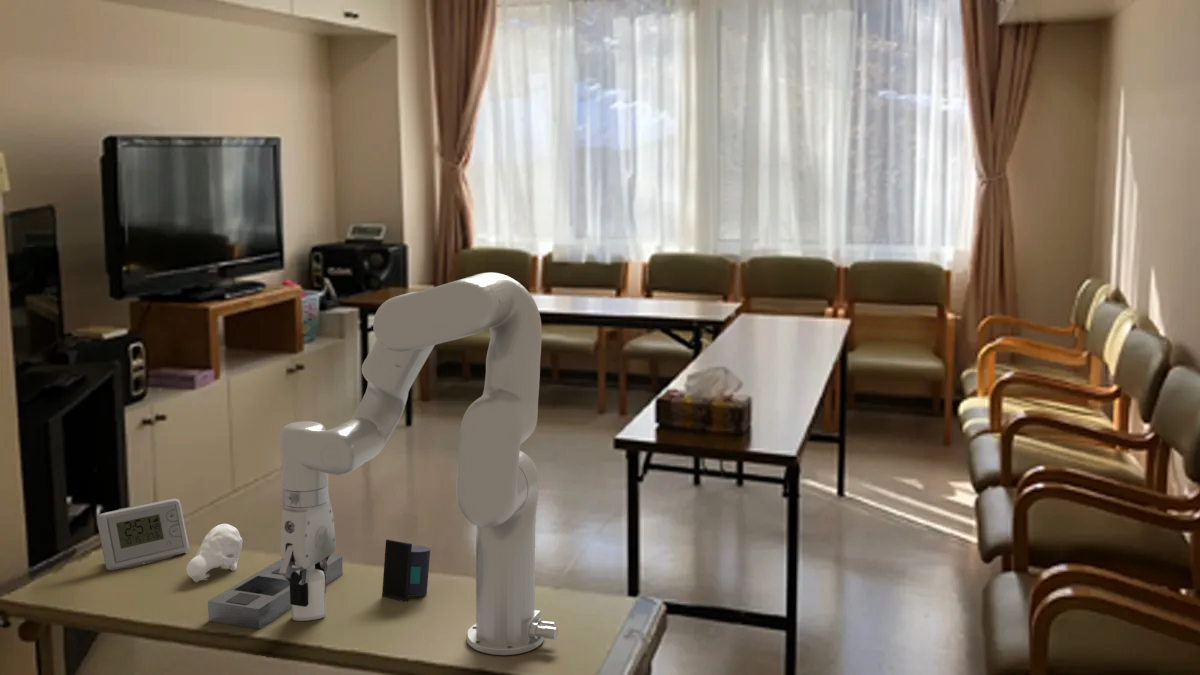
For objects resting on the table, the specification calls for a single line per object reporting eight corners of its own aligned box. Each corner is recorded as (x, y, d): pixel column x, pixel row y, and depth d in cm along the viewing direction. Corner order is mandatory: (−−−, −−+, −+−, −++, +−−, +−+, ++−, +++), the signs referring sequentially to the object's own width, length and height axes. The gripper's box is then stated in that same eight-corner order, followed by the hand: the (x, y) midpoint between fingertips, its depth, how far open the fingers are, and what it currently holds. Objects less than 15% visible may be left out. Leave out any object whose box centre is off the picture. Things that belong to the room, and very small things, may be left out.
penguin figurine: (244, 522, 206) (200, 548, 195) (248, 563, 208) (205, 591, 197) (217, 518, 208) (172, 543, 198) (221, 559, 211) (178, 586, 200)
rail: (342, 574, 204) (342, 556, 204) (259, 629, 180) (258, 608, 179) (296, 567, 207) (296, 549, 207) (208, 620, 183) (207, 600, 182)
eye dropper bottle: (318, 623, 182) (316, 555, 180) (287, 620, 183) (285, 552, 181) (329, 613, 186) (328, 546, 184) (299, 610, 187) (297, 543, 186)
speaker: (400, 604, 190) (402, 546, 189) (381, 596, 194) (383, 539, 193) (435, 597, 195) (437, 540, 195) (416, 589, 199) (418, 534, 199)
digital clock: (103, 574, 203) (100, 520, 201) (96, 560, 210) (92, 507, 208) (193, 558, 211) (191, 506, 210) (183, 545, 219) (180, 494, 217)
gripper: (295, 513, 172) (299, 621, 175) (351, 484, 188) (353, 584, 191) (255, 508, 175) (259, 615, 177) (313, 480, 190) (316, 578, 193)
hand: (308, 598), depth 184 cm, fingers closed on eye dropper bottle, 4 cm apart
